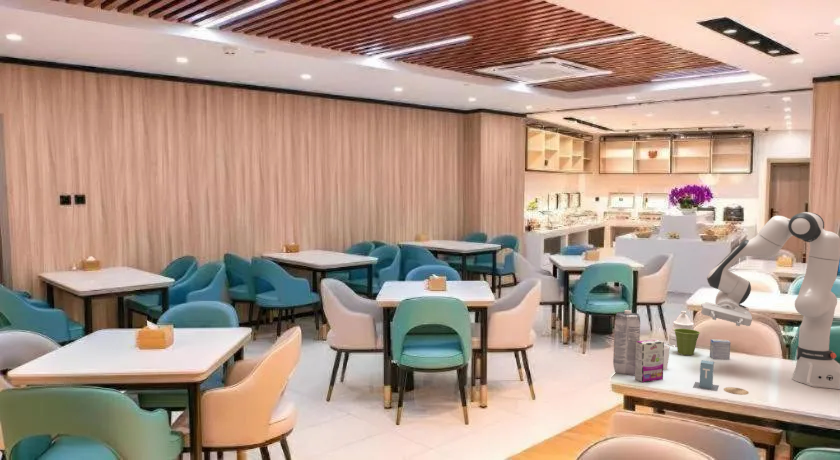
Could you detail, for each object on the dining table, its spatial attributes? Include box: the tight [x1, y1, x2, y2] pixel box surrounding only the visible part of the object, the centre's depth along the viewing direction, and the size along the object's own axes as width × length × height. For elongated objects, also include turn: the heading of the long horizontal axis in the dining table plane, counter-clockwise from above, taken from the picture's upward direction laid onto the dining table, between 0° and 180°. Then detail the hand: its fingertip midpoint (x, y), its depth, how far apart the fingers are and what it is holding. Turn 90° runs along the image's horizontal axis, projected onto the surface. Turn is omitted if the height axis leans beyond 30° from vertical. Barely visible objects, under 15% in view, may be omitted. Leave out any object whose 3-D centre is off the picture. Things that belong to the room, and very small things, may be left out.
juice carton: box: [612, 309, 641, 376], centre depth 283 cm, size 9×10×27 cm
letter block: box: [699, 360, 715, 389], centre depth 264 cm, size 4×5×10 cm
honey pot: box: [668, 310, 697, 348], centre depth 335 cm, size 13×13×18 cm
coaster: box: [723, 386, 750, 396], centre depth 259 cm, size 9×9×1 cm
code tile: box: [692, 381, 720, 392], centre depth 264 cm, size 9×9×1 cm
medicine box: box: [709, 338, 732, 360], centre depth 311 cm, size 8×4×9 cm, turn 84°
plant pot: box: [674, 329, 701, 356], centre depth 318 cm, size 12×12×11 cm
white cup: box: [663, 344, 670, 371], centre depth 291 cm, size 8×8×10 cm
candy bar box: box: [634, 339, 665, 383], centre depth 273 cm, size 11×5×16 cm, turn 112°
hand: (726, 321), depth 279 cm, fingers open, 8 cm apart
